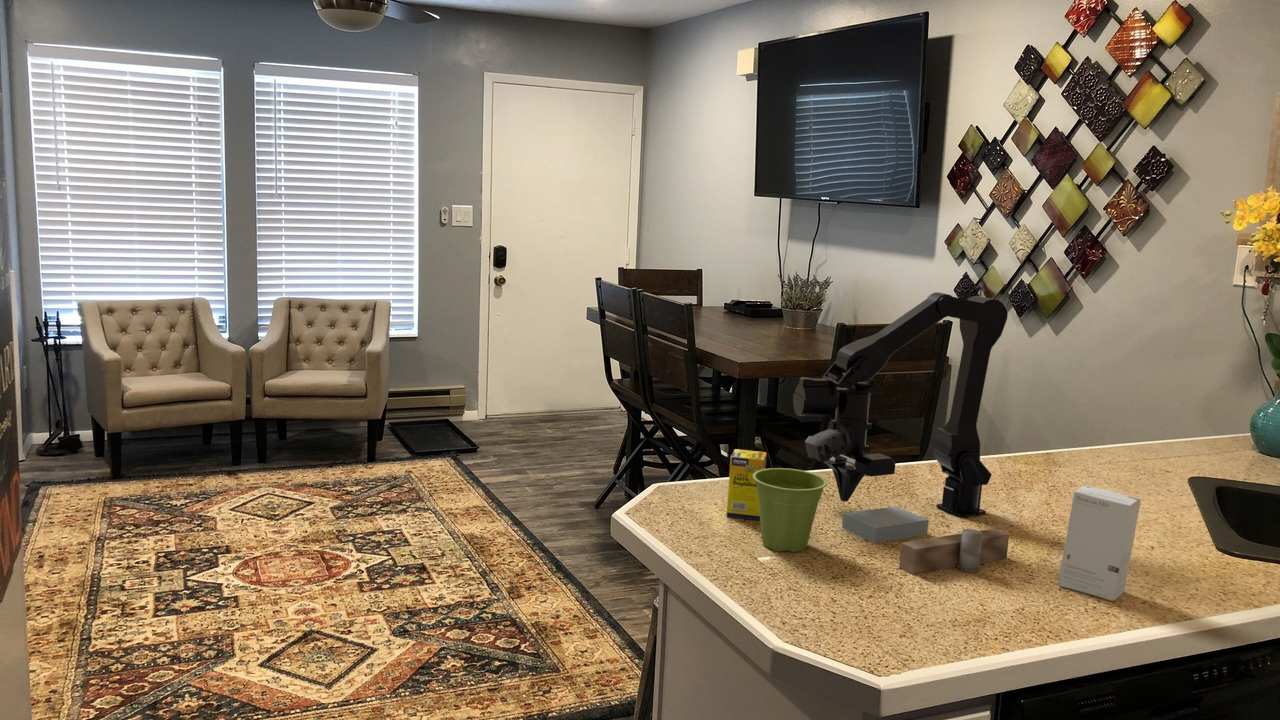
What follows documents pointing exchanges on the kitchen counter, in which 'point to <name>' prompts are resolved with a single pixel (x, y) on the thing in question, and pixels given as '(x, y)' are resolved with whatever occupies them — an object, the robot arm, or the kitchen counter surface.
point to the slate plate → (885, 524)
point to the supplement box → (744, 484)
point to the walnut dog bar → (954, 551)
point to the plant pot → (787, 506)
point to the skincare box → (1099, 542)
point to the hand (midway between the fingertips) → (844, 500)
